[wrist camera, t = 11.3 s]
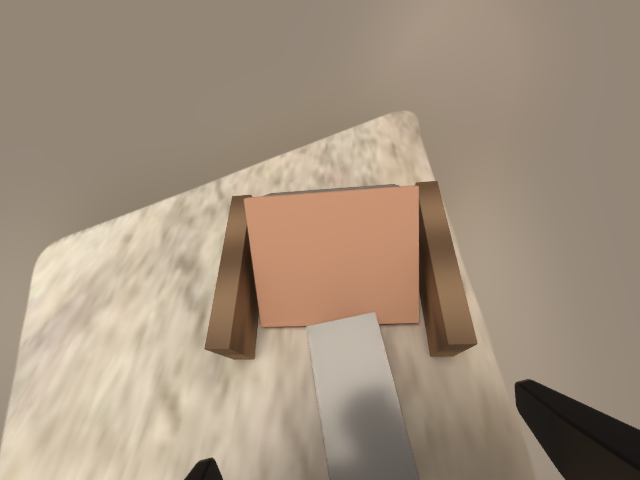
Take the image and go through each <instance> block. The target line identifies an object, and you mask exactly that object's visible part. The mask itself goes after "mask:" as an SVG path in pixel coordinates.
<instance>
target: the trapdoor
mask: <svg viewBox="0 0 640 480" xmlns="http://www.w3.org/2000/svg"><path fill="white" fill-rule="evenodd" d="M244 205H245V212H246V219H247V227H248V234H249V241H250V248H251V256H252V263H253V270H254V277H255V285H256V292H257V299H258V307H259V314H260V321H261V327H281V326H311V325H316V324H321V323H325V322H330V321H335V320H340V319H344V318H349V317H354V316H358V315H363V314H368V313H373V312H375V313H376V317H377V320H378V324H394V323H419V186H416V185H413V186H398V185H395V184H389V185H376V186H362V187H349V188H335V189H322V190H308V191H295V192H281V193H271V194H268V195H265V196H262V197H249V198H245V199H244Z"/></svg>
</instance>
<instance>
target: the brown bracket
mask: <svg viewBox="0 0 640 480" xmlns="http://www.w3.org/2000/svg"><path fill="white" fill-rule="evenodd" d="M415 185H416V186H419V292H420V298H421V304H422V310H423V315H424V321H425V327H426V333H427V339H428V345H429V351H430V357H432V356H455V355H457V354H459V353H461V352H463V351H465V350H467V349H469V348H471V347H473V346H475V345H477V340H476V336H475V331H474V327H473V323H472V319H471V315H470V311H469V307H468V303H467V299H466V295H465V291H464V287H463V283H462V279H461V275H460V271H459V267H458V263H457V259H456V255H455V251H454V247H453V243H452V239H451V235H450V231H449V227H448V223H447V219H446V214H445V210H444V206H443V202H442V198H441V194H440V190H439V186H438V182H437V181H431V182H418V183H416V184H415ZM249 197H252V196H251V195H243V196H232V201H231V206H230V212H229V217H228V223H227V228H226V234H225V239H224V245H223V250H222V256H221V261H220V267H219V272H218V278H217V283H216V289H215V294H214V300H213V305H212V311H211V316H210V322H209V327H208V333H207V338H206V344H205V350H208V351H211V352H214V353H217V354H220V355H223V356H226V357H228V358H231V359H254V354H255V344H256V335H257V325H258V315H259V307H258V299H257V292H256V285H255V277H254V270H253V263H252V256H251V248H250V241H249V234H248V227H247V219H246V212H245V205H244V199H245V198H249Z"/></svg>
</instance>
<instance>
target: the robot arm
mask: <svg viewBox="0 0 640 480" xmlns="http://www.w3.org/2000/svg"><path fill="white" fill-rule="evenodd" d="M515 398H516V406H517V409H518V411H519V413H520V415H521V416H522V418H523V419H524V421H525V422H526V423H527V425H528V426H529V428H530V429H531V431H532V432H533V434H534V435H535V437H536V439H537V440H538V441H539V443H540V444H541V446H542V447H543V449H544V450H545V452H546V453H547V455H548V456H549V458H550V459H551V461H552V462H553V463H554V465H555V467H556V468H557V469H558V471H559V472H560V473H561V475H562V476H563V477H564V478H565V480H640V430H639V429H637V428H634V427H632V426H630V425H628V424H625V423H624V422H621V421H619V420H617V419H615V418H613V417H611V416H609V415H606V414H604V413H602V412H600V411H598V410H595V409H594V408H591V407H589V406H587V405H585V404H583V403H581V402H578V401H576V400H574V399H572V398H570V397H568V396H565V395H563V394H561V393H559V392H557V391H555V390H552V389H550V388H548V387H546V386H544V385H542V384H540V383H537V382H535V381H533V380H529V379H526V380H522V381H518V382H516V383H515ZM184 480H223V478H222V475H221V473H220V471H219V468H218V466H217V464H216V461H215V459H213V458H208V459H204V460H200V461H199V462H197V464H196V465H195V466H194V467H193V469H192V470H191V471H190V473H189V474H188V475H187V477H186V478H185V479H184Z"/></svg>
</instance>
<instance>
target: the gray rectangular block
mask: <svg viewBox="0 0 640 480" xmlns="http://www.w3.org/2000/svg"><path fill="white" fill-rule="evenodd" d="M306 330H307V336H308V343H309V349H310V356H311V362H312V369H313V375H314V382H315V388H316V394H317V401H318V407H319V414H320V420H321V427H322V433H323V440H324V446H325V453H326V459H327V466H328V472H329V479H330V480H419V477H418V473H417V469H416V465H415V461H414V458H413V454H412V450H411V446H410V442H409V439H408V435H407V431H406V427H405V423H404V419H403V416H402V412H401V408H400V404H399V400H398V397H397V393H396V389H395V385H394V381H393V378H392V374H391V370H390V366H389V362H388V359H387V355H386V351H385V347H384V343H383V340H382V336H381V332H380V328H379V324H378V320H377V317H376V313H375V312H373V313H368V314H363V315H358V316H354V317H349V318H344V319H340V320H335V321H330V322H325V323H321V324H316V325H311V326H306Z"/></svg>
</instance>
